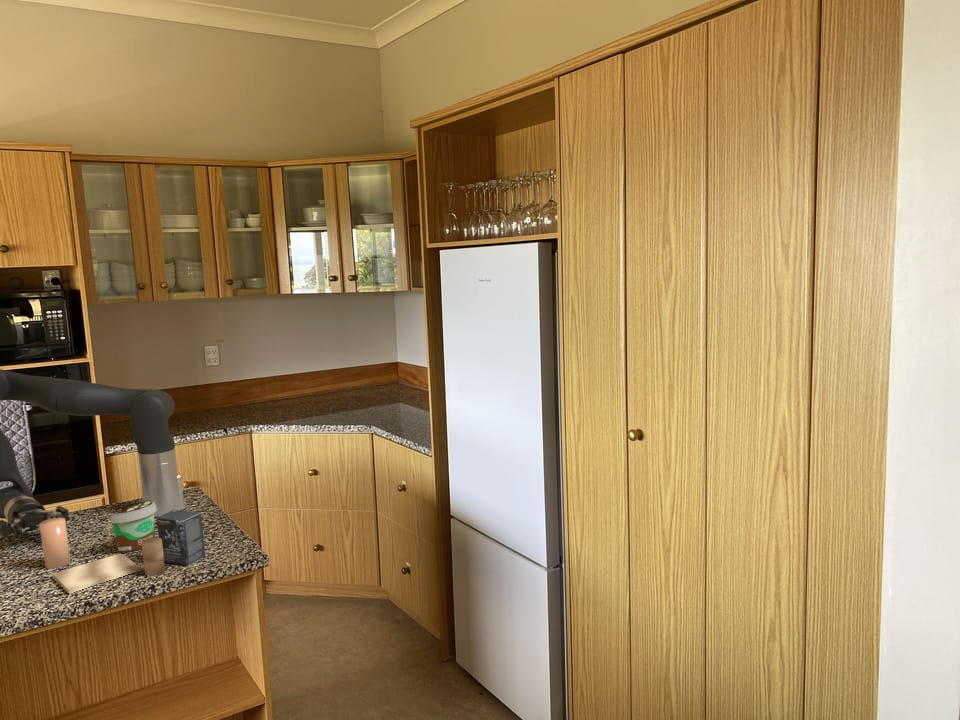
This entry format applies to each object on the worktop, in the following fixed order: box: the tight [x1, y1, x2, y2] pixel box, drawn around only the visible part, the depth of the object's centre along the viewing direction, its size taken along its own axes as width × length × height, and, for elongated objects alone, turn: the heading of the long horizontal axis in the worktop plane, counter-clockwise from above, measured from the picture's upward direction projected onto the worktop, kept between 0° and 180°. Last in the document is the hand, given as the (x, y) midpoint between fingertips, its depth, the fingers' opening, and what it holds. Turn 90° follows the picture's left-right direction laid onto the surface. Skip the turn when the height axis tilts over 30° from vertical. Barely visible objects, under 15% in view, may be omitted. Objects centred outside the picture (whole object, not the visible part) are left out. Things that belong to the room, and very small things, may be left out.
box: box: [156, 509, 206, 567], centre depth 160 cm, size 8×6×11 cm
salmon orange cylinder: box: [39, 517, 71, 570], centre depth 161 cm, size 5×5×10 cm
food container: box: [110, 497, 157, 554], centre depth 169 cm, size 12×6×10 cm, turn 168°
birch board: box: [52, 553, 141, 595], centre depth 154 cm, size 14×12×1 cm
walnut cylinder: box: [141, 537, 166, 577], centre depth 154 cm, size 4×4×7 cm
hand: (41, 527), depth 169 cm, fingers open, 8 cm apart
